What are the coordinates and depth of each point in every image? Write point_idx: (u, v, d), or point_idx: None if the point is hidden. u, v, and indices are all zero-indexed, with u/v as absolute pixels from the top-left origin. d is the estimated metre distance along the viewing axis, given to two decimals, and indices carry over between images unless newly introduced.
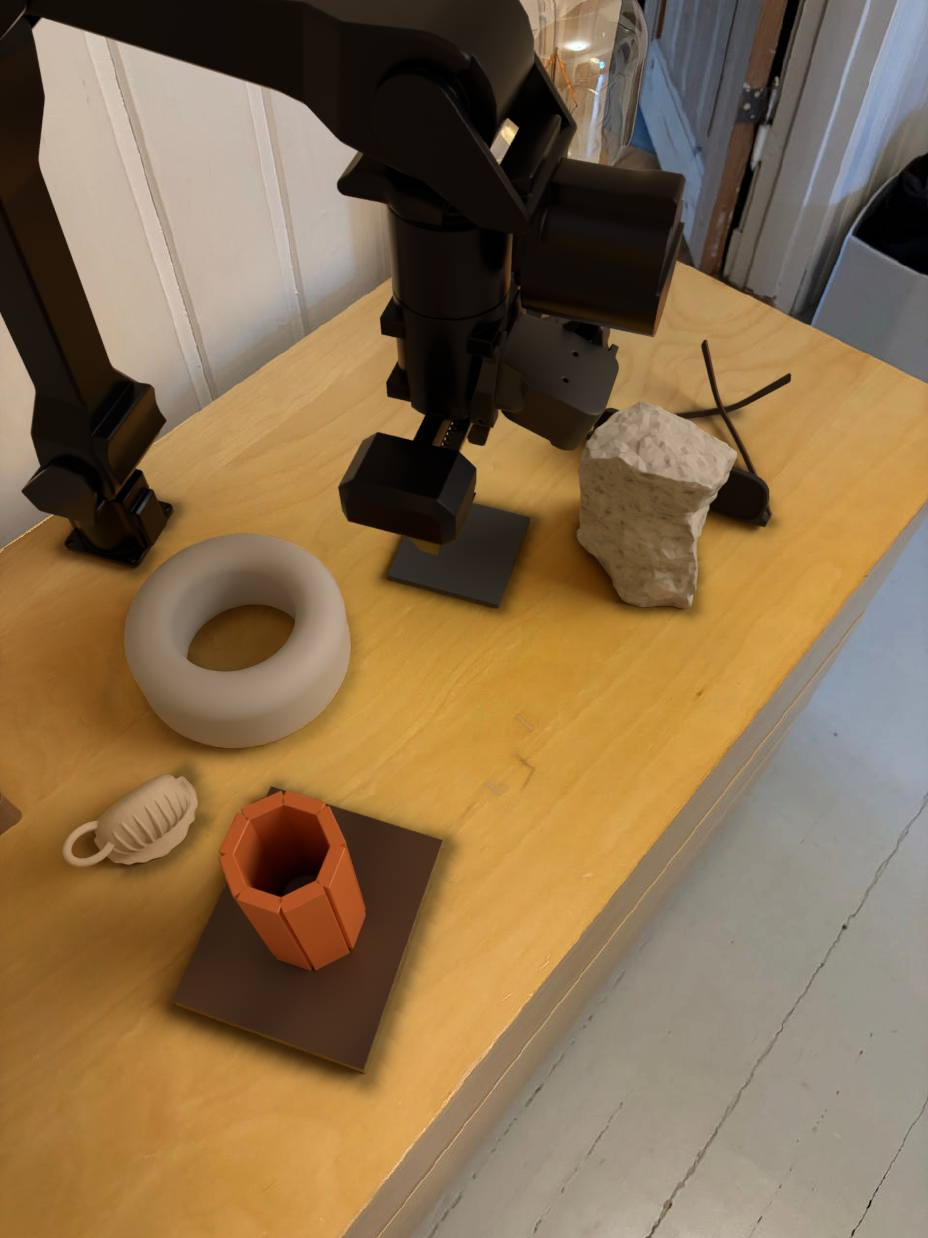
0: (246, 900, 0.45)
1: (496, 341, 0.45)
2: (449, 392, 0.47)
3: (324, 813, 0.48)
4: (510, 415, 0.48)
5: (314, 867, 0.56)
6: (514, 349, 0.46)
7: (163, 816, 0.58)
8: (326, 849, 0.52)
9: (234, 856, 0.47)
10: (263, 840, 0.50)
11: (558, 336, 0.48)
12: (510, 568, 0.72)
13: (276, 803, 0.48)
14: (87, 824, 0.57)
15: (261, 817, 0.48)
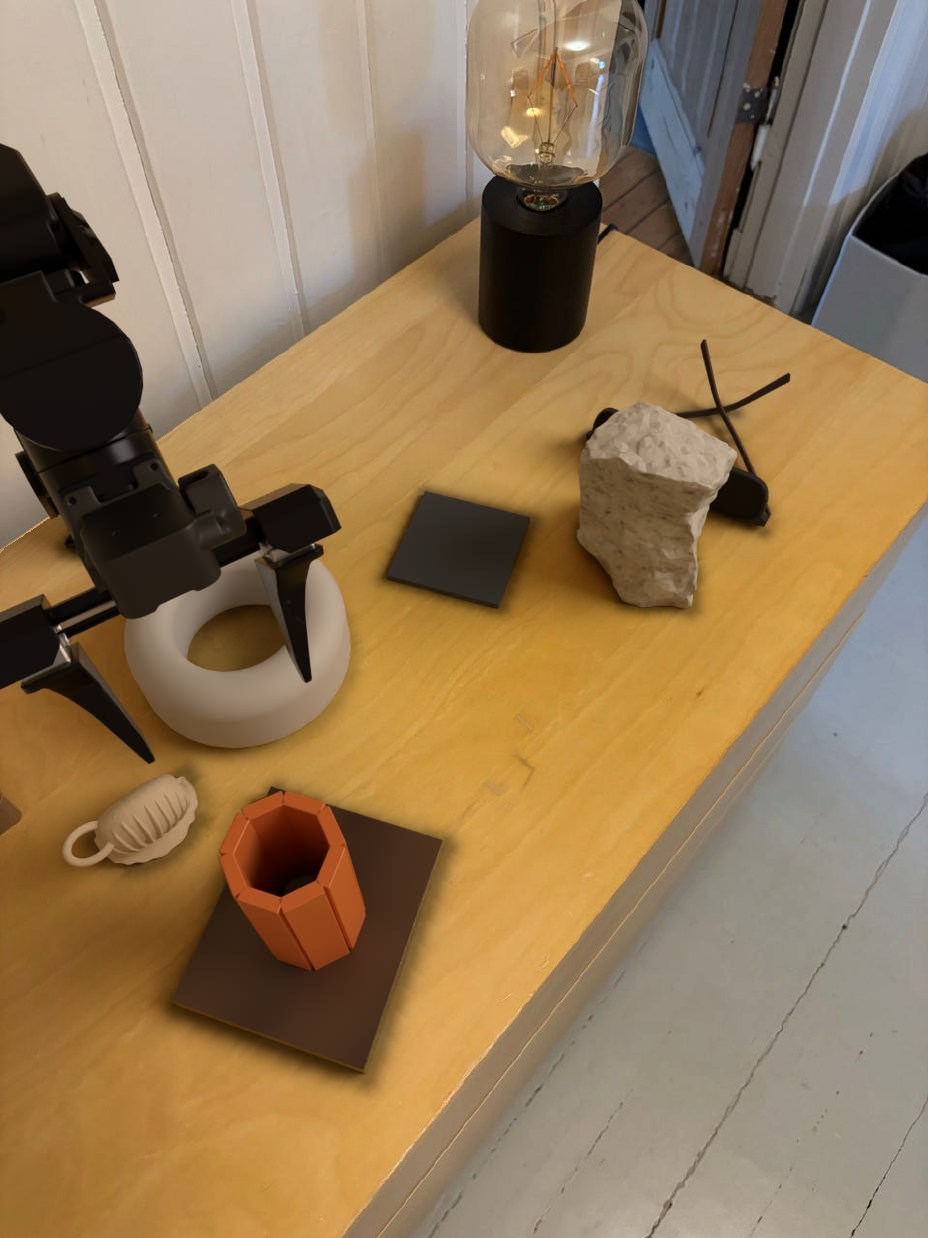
0: (246, 900, 0.45)
1: (70, 492, 0.44)
2: None
3: (324, 813, 0.48)
4: None
5: (314, 867, 0.56)
6: (107, 507, 0.44)
7: (163, 816, 0.58)
8: (326, 849, 0.52)
9: (234, 856, 0.47)
10: (263, 840, 0.50)
11: (163, 500, 0.43)
12: (510, 568, 0.72)
13: (276, 803, 0.48)
14: (87, 824, 0.57)
15: (261, 817, 0.48)
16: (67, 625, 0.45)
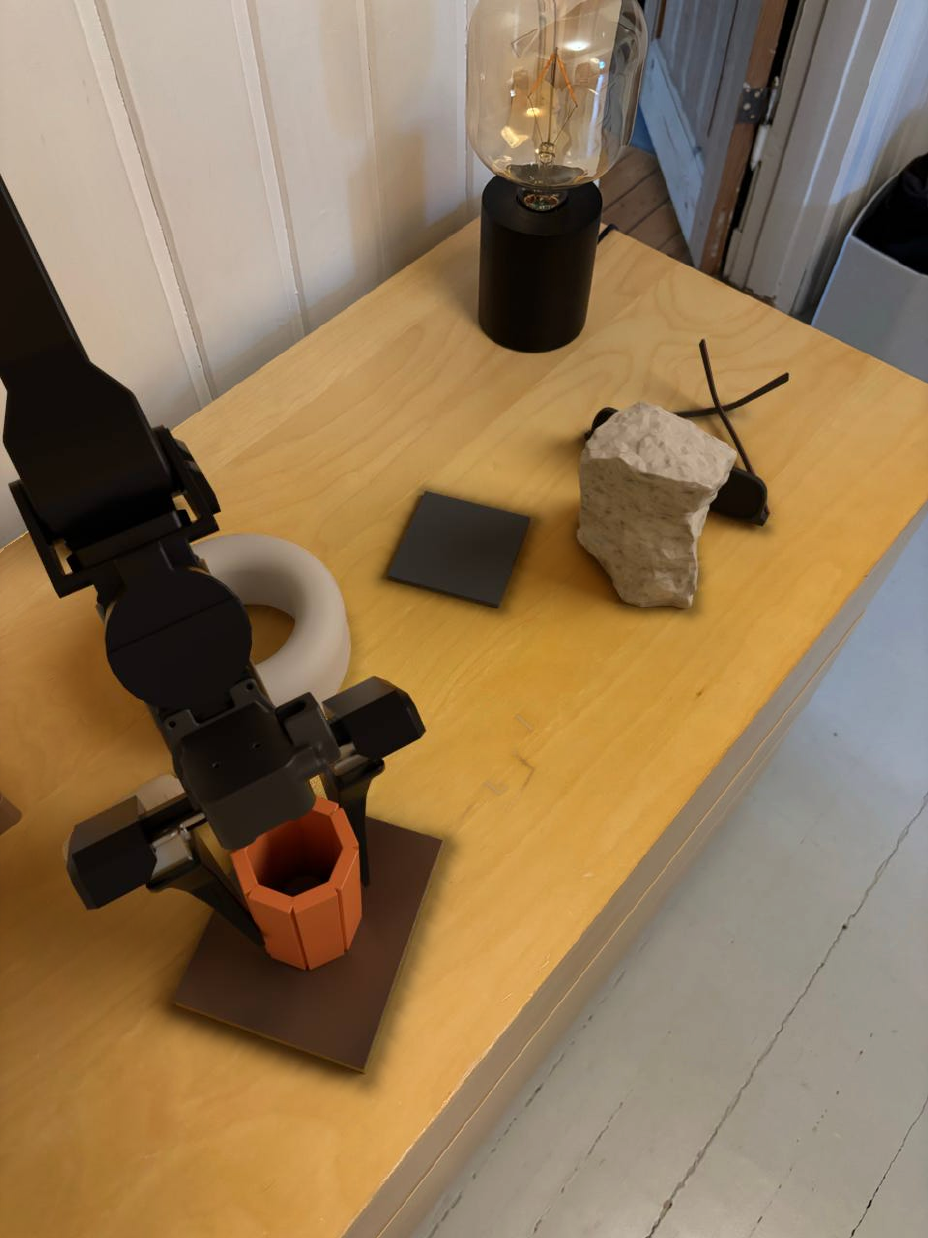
0: (257, 898, 0.45)
1: (169, 715, 0.45)
2: None
3: (337, 814, 0.48)
4: None
5: (313, 866, 0.56)
6: (205, 730, 0.45)
7: None
8: (331, 850, 0.52)
9: (246, 853, 0.46)
10: (271, 837, 0.50)
11: (260, 727, 0.44)
12: (510, 568, 0.72)
13: None
14: None
15: None
16: None
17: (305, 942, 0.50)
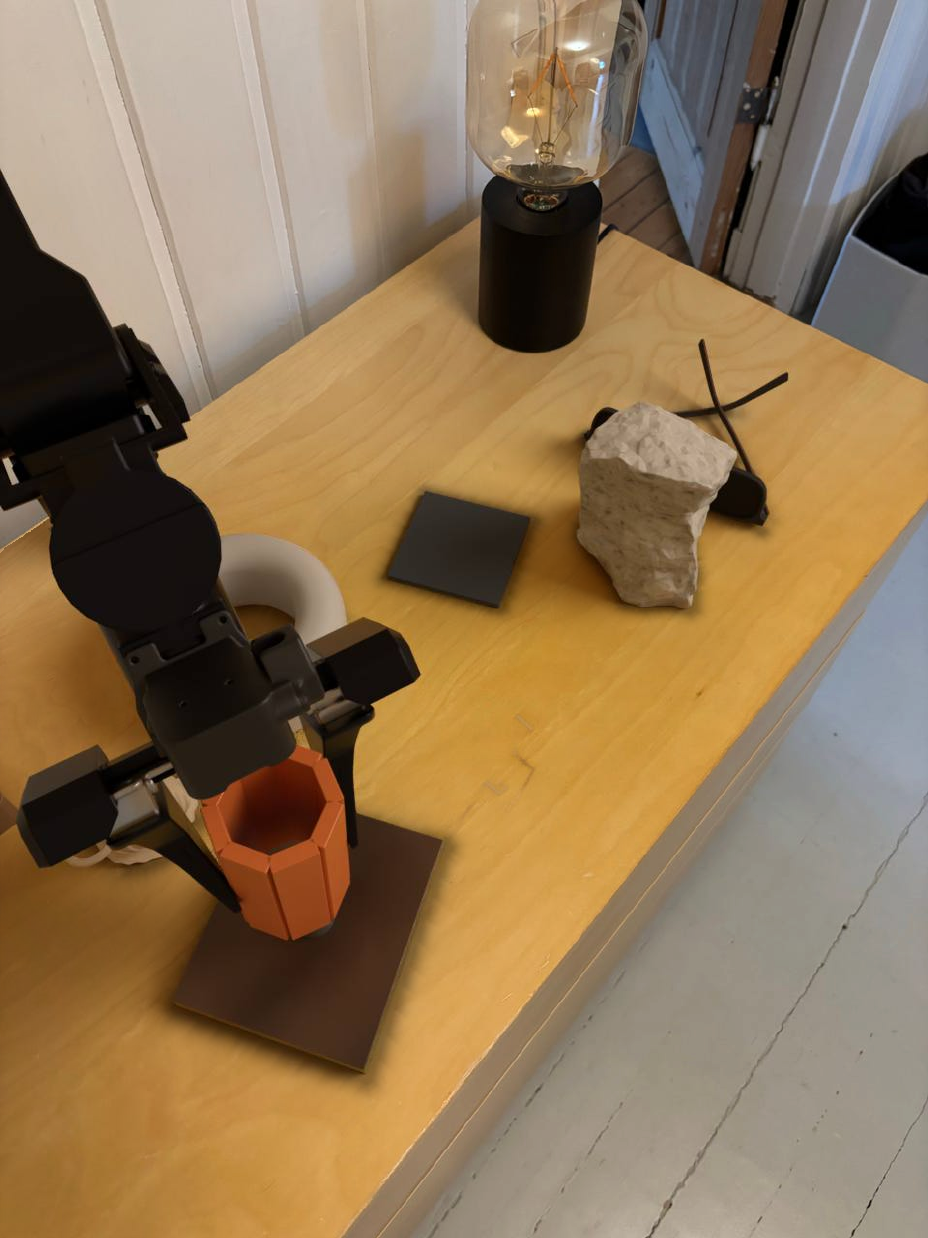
0: (230, 857, 0.40)
1: (132, 650, 0.40)
2: None
3: (320, 765, 0.43)
4: None
5: (297, 828, 0.51)
6: (172, 667, 0.40)
7: None
8: (315, 807, 0.47)
9: (218, 807, 0.42)
10: (248, 792, 0.45)
11: (234, 662, 0.39)
12: (510, 568, 0.72)
13: None
14: None
15: None
16: None
17: (286, 908, 0.45)
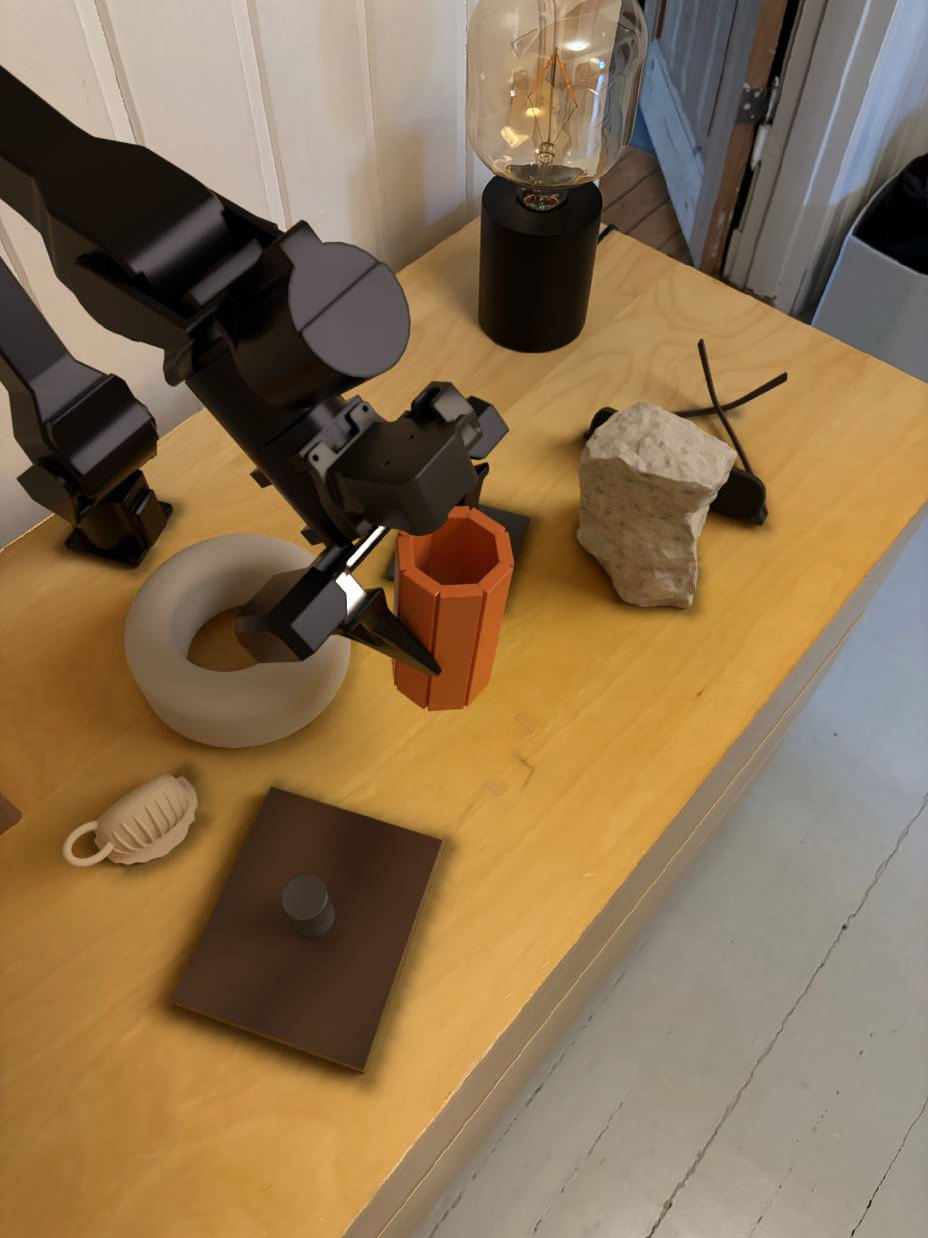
0: (449, 595, 0.47)
1: (309, 451, 0.45)
2: (319, 517, 0.48)
3: (473, 513, 0.50)
4: (367, 519, 0.46)
5: None
6: (346, 455, 0.46)
7: (163, 816, 0.58)
8: (457, 575, 0.55)
9: (415, 568, 0.48)
10: None
11: (400, 428, 0.46)
12: None
13: None
14: (87, 824, 0.57)
15: None
16: None
17: (478, 651, 0.52)
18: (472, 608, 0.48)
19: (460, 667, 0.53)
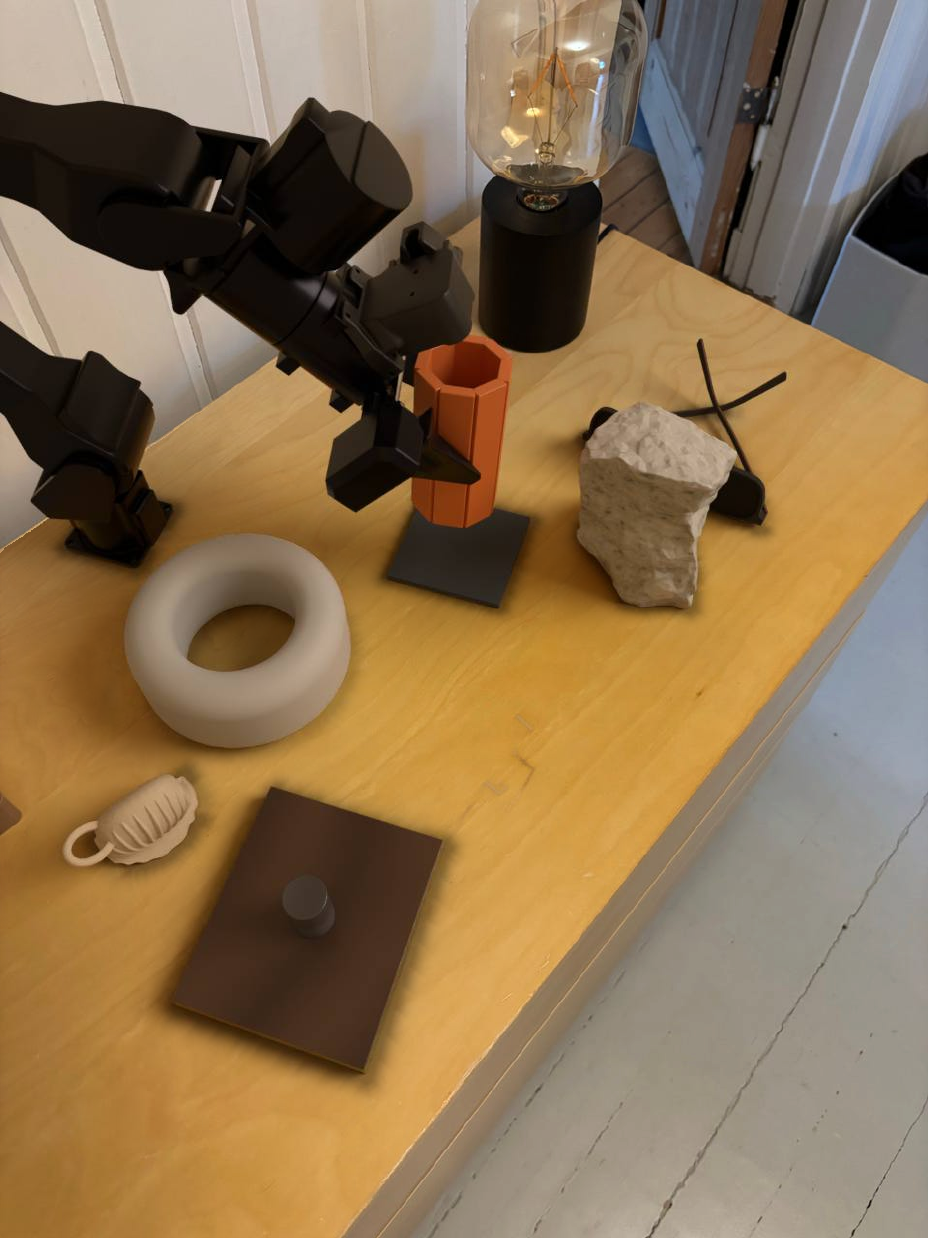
0: (483, 392, 0.57)
1: (340, 312, 0.53)
2: (356, 373, 0.56)
3: None
4: (404, 351, 0.55)
5: None
6: (367, 307, 0.54)
7: (163, 816, 0.58)
8: None
9: (446, 385, 0.57)
10: None
11: (398, 272, 0.55)
12: (510, 568, 0.72)
13: (427, 351, 0.59)
14: (87, 824, 0.57)
15: (428, 364, 0.59)
16: None
17: (500, 448, 0.63)
18: (499, 400, 0.59)
19: (490, 468, 0.63)
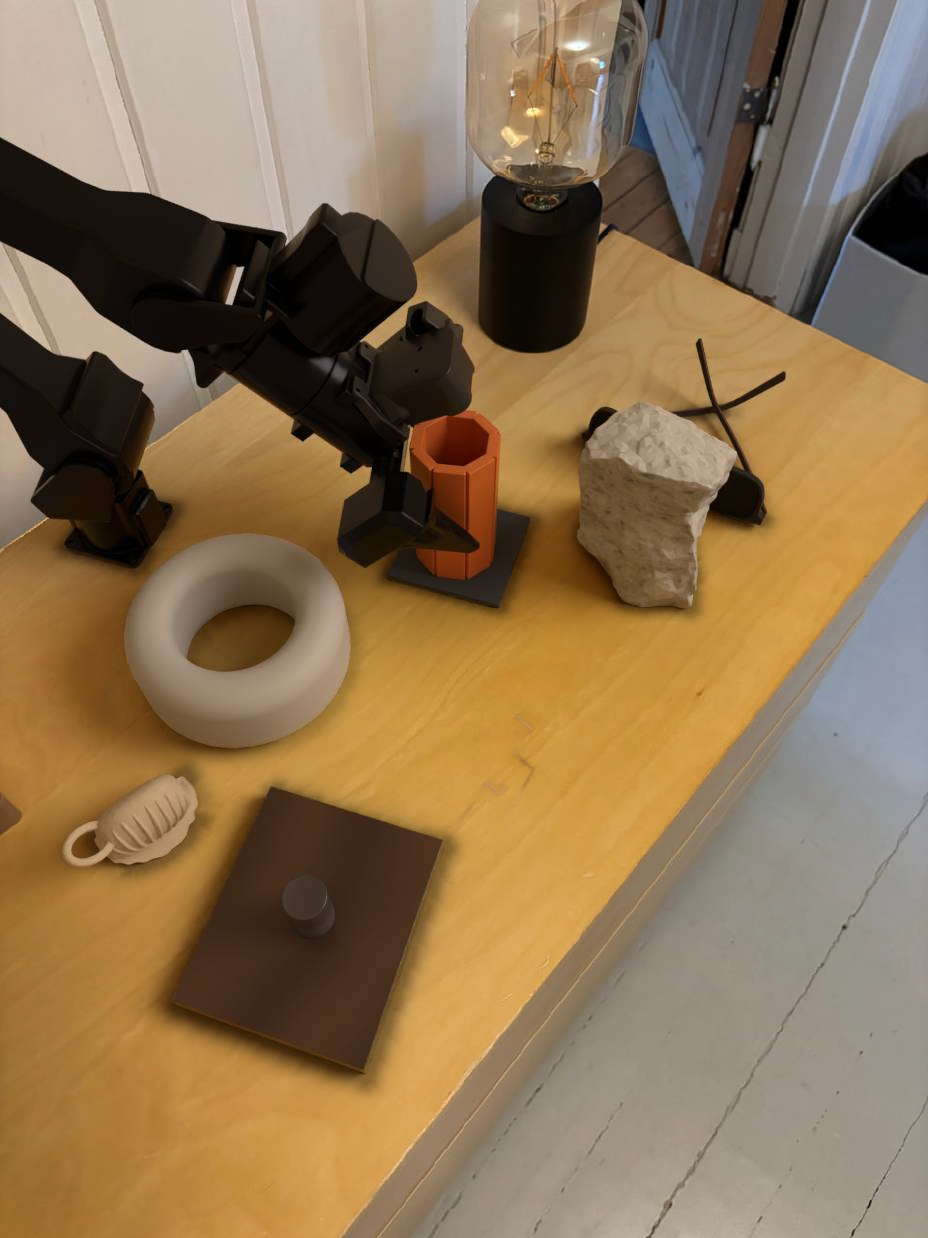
0: (473, 469, 0.62)
1: (351, 387, 0.58)
2: (365, 440, 0.61)
3: None
4: (410, 421, 0.59)
5: None
6: (375, 381, 0.59)
7: (163, 816, 0.58)
8: None
9: (438, 464, 0.62)
10: None
11: (404, 348, 0.59)
12: (510, 568, 0.72)
13: (421, 429, 0.64)
14: (87, 824, 0.57)
15: (422, 443, 0.64)
16: None
17: (494, 510, 0.68)
18: (489, 473, 0.63)
19: (486, 528, 0.68)
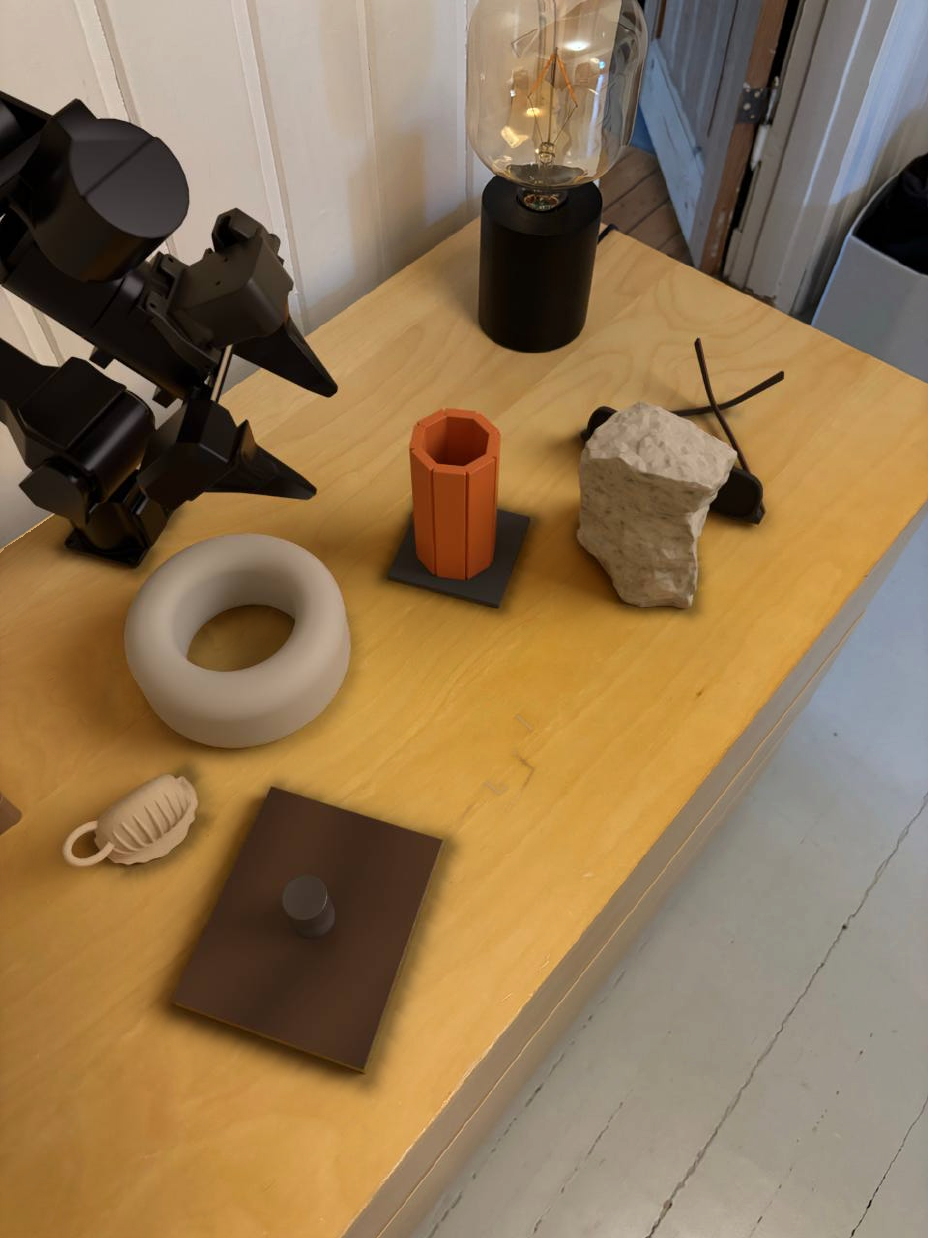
0: (473, 469, 0.62)
1: (144, 302, 0.51)
2: (171, 366, 0.54)
3: (448, 411, 0.65)
4: (217, 343, 0.52)
5: None
6: (176, 297, 0.52)
7: (163, 816, 0.58)
8: None
9: (438, 464, 0.62)
10: None
11: (211, 260, 0.53)
12: (510, 568, 0.72)
13: (421, 429, 0.64)
14: (87, 824, 0.57)
15: (422, 443, 0.64)
16: None
17: (494, 510, 0.68)
18: (489, 473, 0.63)
19: (486, 528, 0.68)
